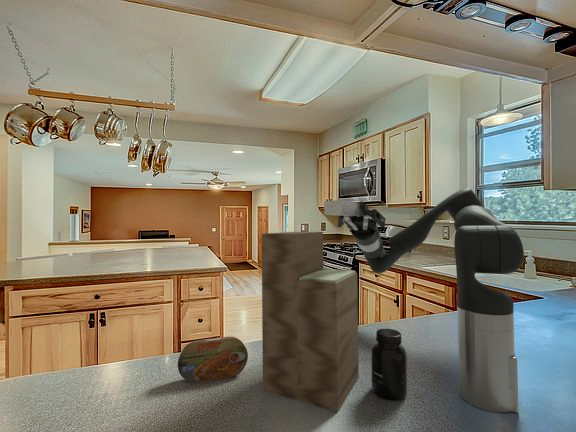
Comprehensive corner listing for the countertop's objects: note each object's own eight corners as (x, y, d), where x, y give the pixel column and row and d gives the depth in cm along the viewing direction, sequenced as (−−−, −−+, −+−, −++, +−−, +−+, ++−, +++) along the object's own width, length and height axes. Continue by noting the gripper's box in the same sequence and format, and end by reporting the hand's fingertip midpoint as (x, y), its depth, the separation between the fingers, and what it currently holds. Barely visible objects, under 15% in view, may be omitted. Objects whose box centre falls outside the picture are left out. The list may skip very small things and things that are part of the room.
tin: (177, 385, 66) (177, 345, 66) (178, 378, 69) (178, 339, 69) (248, 375, 70) (248, 337, 70) (246, 369, 73) (246, 333, 73)
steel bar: (366, 215, 86) (366, 205, 86) (341, 214, 66) (341, 200, 66) (352, 216, 88) (352, 205, 88) (324, 214, 68) (324, 201, 68)
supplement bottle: (368, 396, 61) (367, 334, 61) (375, 380, 67) (374, 324, 67) (405, 405, 58) (403, 340, 58) (409, 388, 64) (408, 329, 64)
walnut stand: (358, 377, 68) (356, 232, 69) (337, 412, 56) (335, 234, 57) (293, 363, 76) (292, 231, 77) (262, 390, 63) (261, 233, 64)
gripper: (390, 247, 89) (379, 216, 76) (342, 245, 96) (324, 217, 83) (391, 224, 93) (381, 191, 80) (345, 224, 99) (329, 193, 86)
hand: (352, 204), depth 81 cm, fingers closed on steel bar, 4 cm apart
